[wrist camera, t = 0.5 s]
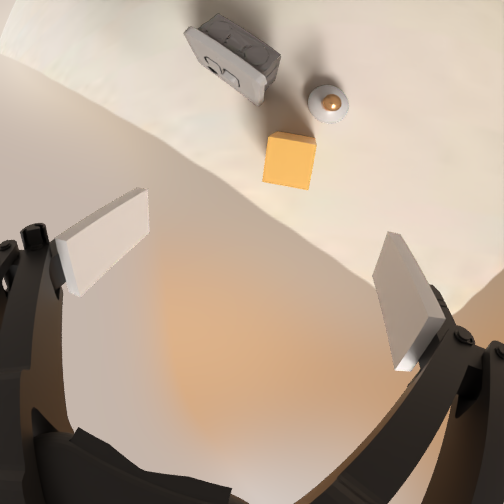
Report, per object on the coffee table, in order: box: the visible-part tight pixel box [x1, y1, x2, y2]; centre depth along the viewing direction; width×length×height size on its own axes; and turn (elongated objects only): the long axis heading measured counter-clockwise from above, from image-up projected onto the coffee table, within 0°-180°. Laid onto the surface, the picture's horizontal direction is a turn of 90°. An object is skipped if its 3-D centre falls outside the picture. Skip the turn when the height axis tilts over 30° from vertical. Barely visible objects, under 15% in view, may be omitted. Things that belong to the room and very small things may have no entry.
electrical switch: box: [184, 14, 281, 106], centre depth 23 cm, size 9×5×9 cm, turn 49°
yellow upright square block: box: [262, 131, 317, 190], centre depth 28 cm, size 4×4×7 cm
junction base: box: [308, 85, 349, 124], centre depth 27 cm, size 4×4×2 cm
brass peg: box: [321, 94, 342, 111], centre depth 24 cm, size 2×2×6 cm
